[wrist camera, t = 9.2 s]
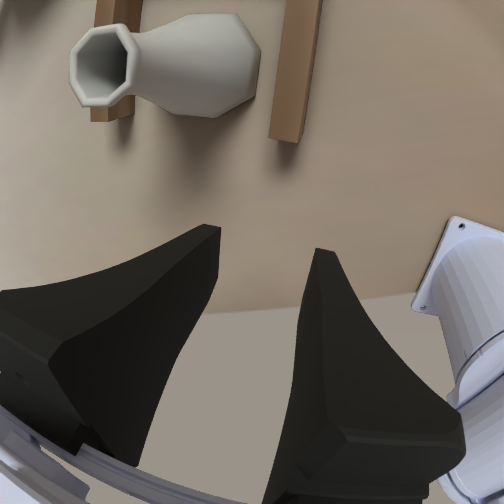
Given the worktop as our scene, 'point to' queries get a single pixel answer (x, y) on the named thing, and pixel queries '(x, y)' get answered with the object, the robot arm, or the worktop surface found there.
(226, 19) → the flask
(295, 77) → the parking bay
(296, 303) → the worktop surface
